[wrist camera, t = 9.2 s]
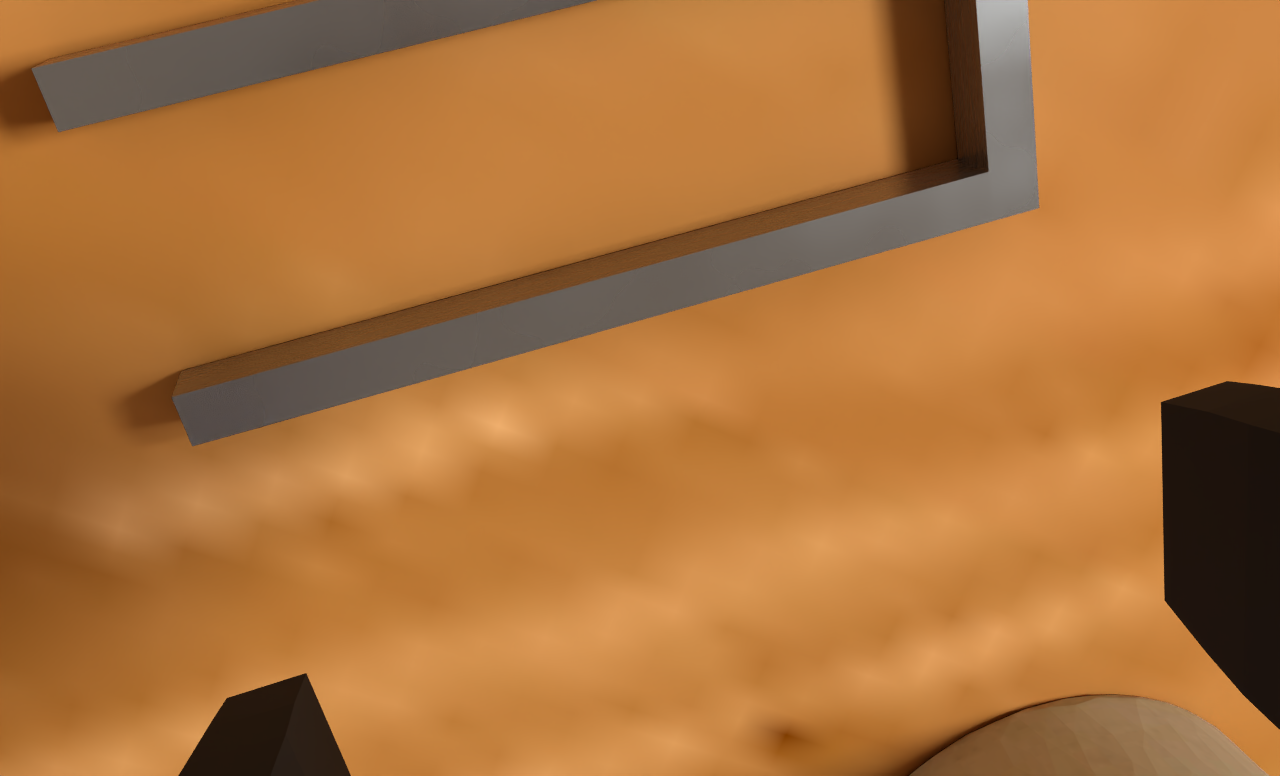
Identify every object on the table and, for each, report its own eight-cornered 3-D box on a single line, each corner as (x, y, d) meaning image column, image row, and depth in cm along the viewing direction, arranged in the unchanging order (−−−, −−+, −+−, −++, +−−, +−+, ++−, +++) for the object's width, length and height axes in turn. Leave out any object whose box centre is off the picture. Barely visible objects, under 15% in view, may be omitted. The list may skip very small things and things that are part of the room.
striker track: (982, -163, 17) (1018, -166, 16) (1007, 193, 19) (1039, 208, 18) (51, 58, 15) (31, 68, 14) (200, 418, 17) (192, 445, 16)
